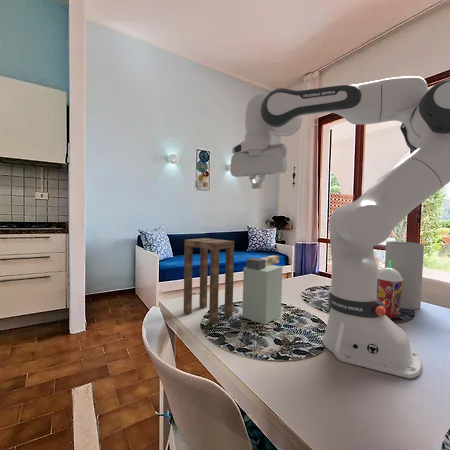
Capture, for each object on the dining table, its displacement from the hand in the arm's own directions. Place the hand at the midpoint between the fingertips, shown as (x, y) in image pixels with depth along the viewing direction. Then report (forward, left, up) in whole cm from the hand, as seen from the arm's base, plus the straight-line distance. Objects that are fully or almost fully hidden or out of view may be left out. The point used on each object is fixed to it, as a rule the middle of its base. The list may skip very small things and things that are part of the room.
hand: (256, 188), depth 87 cm
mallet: (-1, -6, -27) cm, 27 cm away
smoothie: (-36, -33, -44) cm, 66 cm away
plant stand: (+13, +9, -44) cm, 47 cm away
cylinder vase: (-39, -50, -44) cm, 77 cm away
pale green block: (-2, -3, -44) cm, 44 cm away
